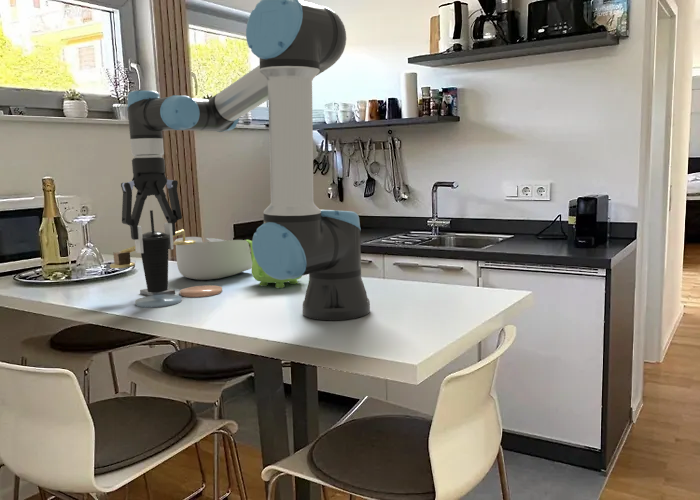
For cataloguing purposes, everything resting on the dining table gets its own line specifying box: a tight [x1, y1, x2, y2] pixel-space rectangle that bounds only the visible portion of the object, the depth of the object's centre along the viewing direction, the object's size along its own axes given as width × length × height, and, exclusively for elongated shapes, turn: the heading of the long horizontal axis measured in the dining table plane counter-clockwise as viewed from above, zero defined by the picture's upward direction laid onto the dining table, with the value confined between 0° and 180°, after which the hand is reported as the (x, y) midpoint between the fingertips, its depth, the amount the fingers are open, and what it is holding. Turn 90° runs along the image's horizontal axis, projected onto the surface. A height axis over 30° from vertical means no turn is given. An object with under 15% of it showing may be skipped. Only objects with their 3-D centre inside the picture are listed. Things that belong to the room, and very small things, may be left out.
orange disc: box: [179, 284, 223, 298], centre depth 166 cm, size 11×11×1 cm
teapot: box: [245, 239, 303, 289], centre depth 174 cm, size 16×14×13 cm
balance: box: [109, 228, 196, 297], centre depth 165 cm, size 8×24×16 cm, turn 133°
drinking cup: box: [140, 209, 170, 292], centre depth 154 cm, size 8×8×20 cm
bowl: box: [174, 236, 252, 281], centre depth 189 cm, size 20×19×12 cm
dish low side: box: [135, 294, 183, 309], centre depth 156 cm, size 11×11×1 cm
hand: (155, 250), depth 154 cm, fingers closed on drinking cup, 7 cm apart
